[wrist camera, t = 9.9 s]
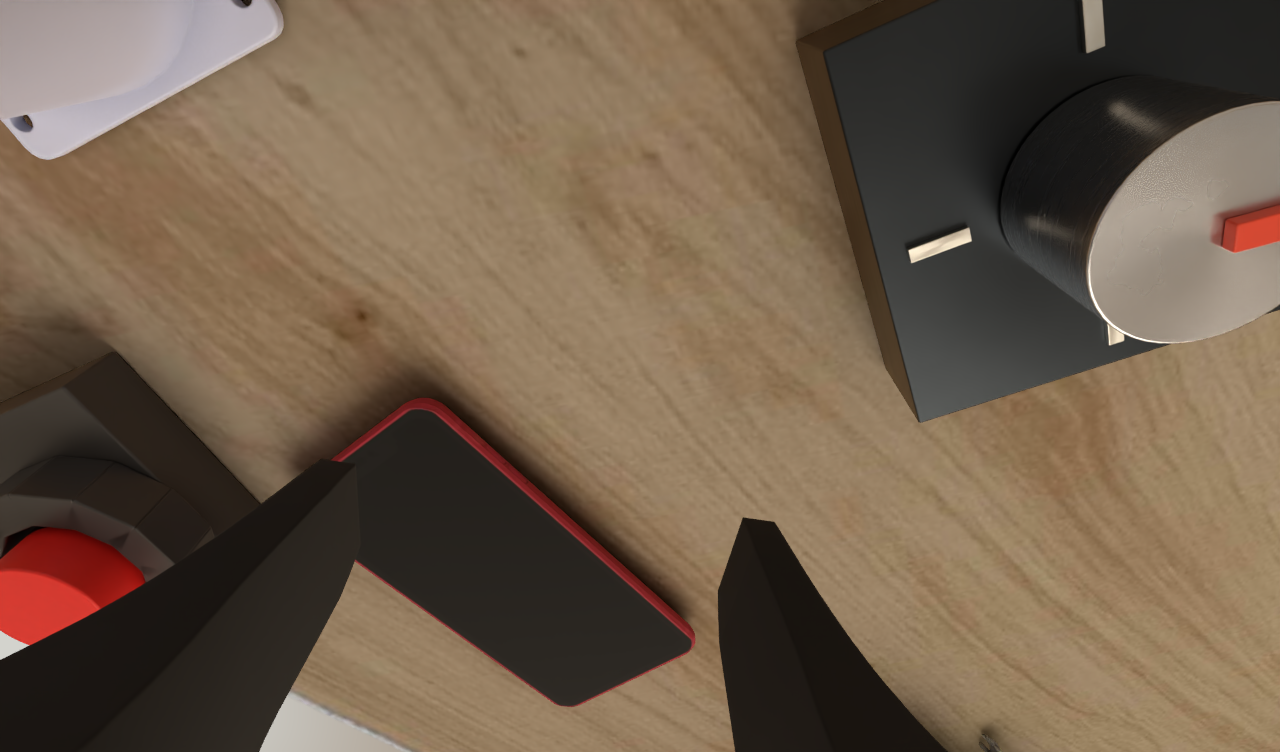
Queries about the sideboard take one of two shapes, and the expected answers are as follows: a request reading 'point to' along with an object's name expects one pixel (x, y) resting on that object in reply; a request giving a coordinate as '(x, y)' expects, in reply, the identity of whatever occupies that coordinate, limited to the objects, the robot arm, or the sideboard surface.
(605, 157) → the sideboard surface
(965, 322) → the dimmer panel
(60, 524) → the light switch
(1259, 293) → the dimmer knob
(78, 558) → the light button
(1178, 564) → the sideboard surface
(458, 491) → the smartphone
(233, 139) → the sideboard surface
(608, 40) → the sideboard surface
